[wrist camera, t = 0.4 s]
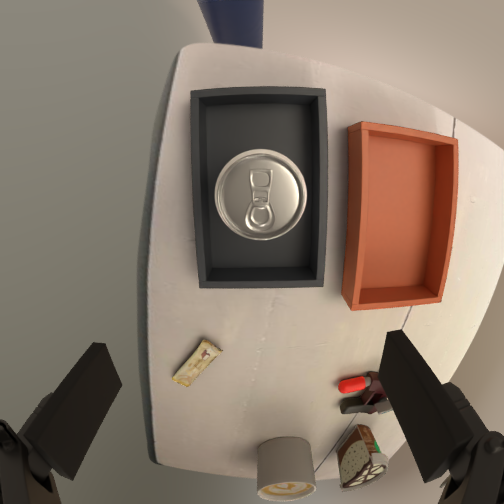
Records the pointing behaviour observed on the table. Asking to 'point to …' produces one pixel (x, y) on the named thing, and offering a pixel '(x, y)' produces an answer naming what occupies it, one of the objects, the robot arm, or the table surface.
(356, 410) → the toy gun
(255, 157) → the can
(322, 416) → the table surface
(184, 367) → the snack bar
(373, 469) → the food container
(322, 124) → the grey bin
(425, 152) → the terracotta bin
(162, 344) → the table surface
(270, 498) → the coffee mug
